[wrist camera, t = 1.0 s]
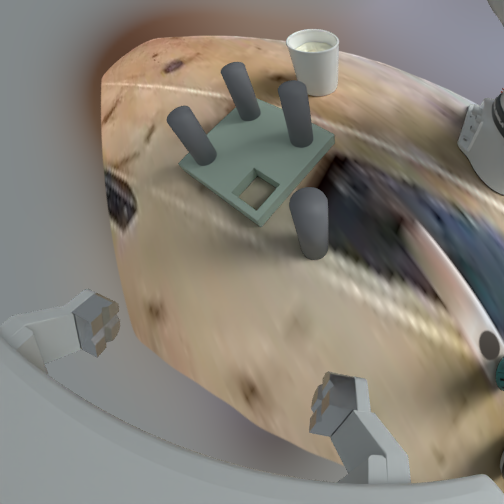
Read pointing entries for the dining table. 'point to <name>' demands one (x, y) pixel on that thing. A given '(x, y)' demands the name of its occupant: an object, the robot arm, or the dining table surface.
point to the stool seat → (253, 143)
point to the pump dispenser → (502, 465)
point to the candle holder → (315, 60)
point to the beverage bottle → (500, 375)
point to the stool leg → (311, 221)
